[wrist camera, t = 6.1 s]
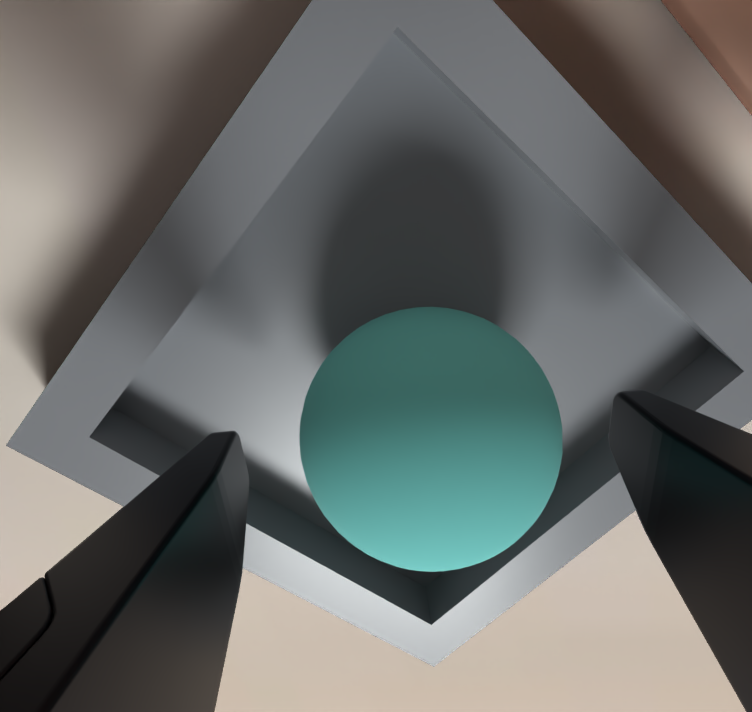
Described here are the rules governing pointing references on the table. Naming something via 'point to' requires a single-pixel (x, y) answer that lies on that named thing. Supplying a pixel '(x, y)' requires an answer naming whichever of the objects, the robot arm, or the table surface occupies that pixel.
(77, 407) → the tray
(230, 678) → the table surface
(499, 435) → the ball
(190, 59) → the table surface
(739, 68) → the dish
